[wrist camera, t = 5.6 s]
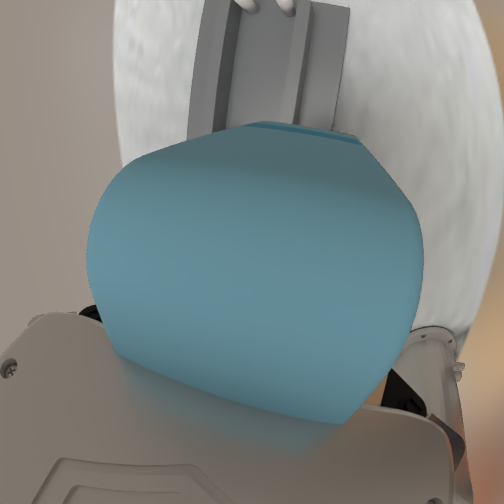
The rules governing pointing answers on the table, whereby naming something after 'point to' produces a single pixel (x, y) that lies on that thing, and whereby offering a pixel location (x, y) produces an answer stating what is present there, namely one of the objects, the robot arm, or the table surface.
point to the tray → (267, 64)
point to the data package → (260, 267)
